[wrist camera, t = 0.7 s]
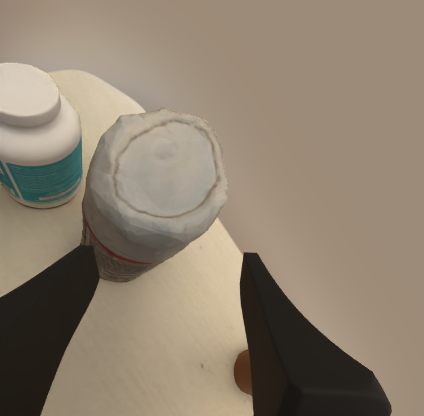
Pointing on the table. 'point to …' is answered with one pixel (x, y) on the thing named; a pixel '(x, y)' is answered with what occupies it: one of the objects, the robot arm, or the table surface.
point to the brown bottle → (243, 372)
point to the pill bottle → (38, 138)
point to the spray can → (151, 191)
